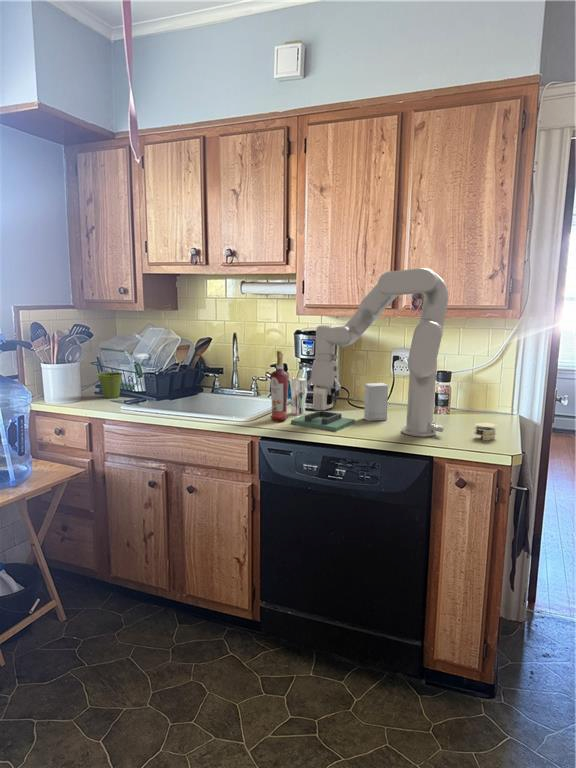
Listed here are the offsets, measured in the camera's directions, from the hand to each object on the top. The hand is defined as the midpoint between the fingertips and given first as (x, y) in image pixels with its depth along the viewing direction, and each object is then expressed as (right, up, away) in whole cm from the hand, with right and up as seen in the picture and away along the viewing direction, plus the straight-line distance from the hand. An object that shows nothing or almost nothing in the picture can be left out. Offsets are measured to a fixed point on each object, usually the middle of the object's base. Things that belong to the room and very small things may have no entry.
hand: (323, 402), depth 207 cm
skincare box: (+22, -7, +10) cm, 25 cm away
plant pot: (-99, +1, +46) cm, 109 cm away
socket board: (0, -8, +1) cm, 8 cm away
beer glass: (-9, -5, +18) cm, 21 cm away
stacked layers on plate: (+58, -13, -17) cm, 61 cm away
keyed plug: (0, -2, 0) cm, 2 cm away
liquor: (-17, -7, +5) cm, 20 cm away
